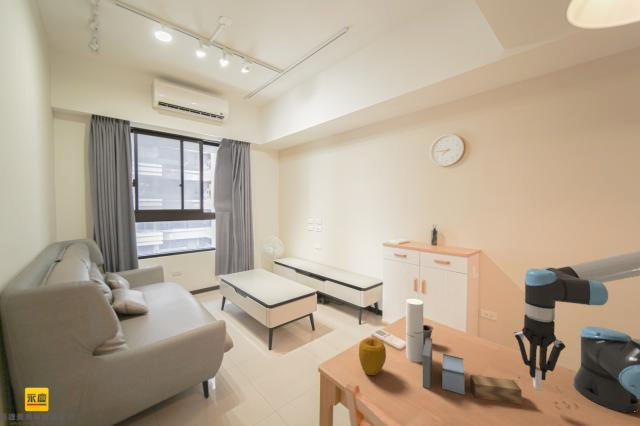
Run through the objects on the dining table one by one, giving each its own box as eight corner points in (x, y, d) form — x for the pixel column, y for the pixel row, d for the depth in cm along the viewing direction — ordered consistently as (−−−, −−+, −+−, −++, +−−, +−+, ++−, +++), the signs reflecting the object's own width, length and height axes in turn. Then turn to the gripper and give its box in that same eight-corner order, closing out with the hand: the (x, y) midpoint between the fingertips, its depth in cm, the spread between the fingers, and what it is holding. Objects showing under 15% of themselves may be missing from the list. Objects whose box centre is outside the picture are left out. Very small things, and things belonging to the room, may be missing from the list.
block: (463, 377, 97) (463, 358, 97) (464, 394, 88) (464, 373, 88) (443, 372, 101) (443, 353, 100) (442, 388, 92) (442, 368, 92)
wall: (432, 367, 104) (432, 338, 104) (429, 388, 92) (429, 356, 92) (425, 365, 105) (425, 337, 105) (422, 386, 93) (422, 354, 93)
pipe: (406, 343, 123) (406, 327, 123) (427, 339, 126) (427, 323, 126) (414, 350, 117) (414, 333, 117) (436, 345, 121) (436, 329, 120)
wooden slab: (513, 393, 89) (513, 379, 89) (521, 404, 85) (521, 389, 84) (470, 388, 92) (470, 374, 92) (475, 398, 88) (475, 384, 87)
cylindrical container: (424, 363, 107) (424, 305, 107) (407, 361, 108) (407, 303, 108) (421, 353, 114) (421, 299, 114) (405, 351, 115) (404, 298, 115)
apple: (384, 383, 95) (384, 350, 95) (356, 377, 98) (356, 345, 98) (387, 366, 105) (386, 335, 105) (361, 361, 109) (361, 332, 108)
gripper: (561, 316, 83) (558, 387, 83) (512, 309, 89) (510, 374, 89) (570, 326, 76) (568, 402, 77) (516, 317, 82) (514, 388, 83)
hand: (536, 387), depth 83 cm, fingers closed
